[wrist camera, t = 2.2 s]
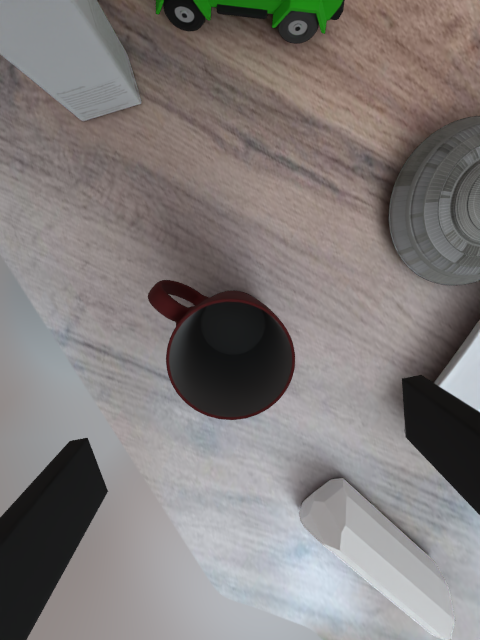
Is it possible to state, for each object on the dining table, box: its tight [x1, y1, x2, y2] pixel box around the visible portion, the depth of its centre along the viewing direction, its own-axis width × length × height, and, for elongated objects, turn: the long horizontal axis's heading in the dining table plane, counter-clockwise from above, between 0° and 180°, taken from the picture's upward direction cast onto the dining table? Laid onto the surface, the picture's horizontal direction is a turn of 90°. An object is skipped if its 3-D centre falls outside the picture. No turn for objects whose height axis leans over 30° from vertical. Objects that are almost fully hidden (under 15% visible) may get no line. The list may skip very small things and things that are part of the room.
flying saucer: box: [389, 116, 480, 285], centre depth 24 cm, size 15×15×6 cm
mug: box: [148, 280, 295, 420], centre depth 23 cm, size 12×9×11 cm
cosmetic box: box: [0, 0, 142, 121], centre depth 18 cm, size 6×4×12 cm
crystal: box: [299, 478, 455, 640], centre depth 33 cm, size 7×7×24 cm
